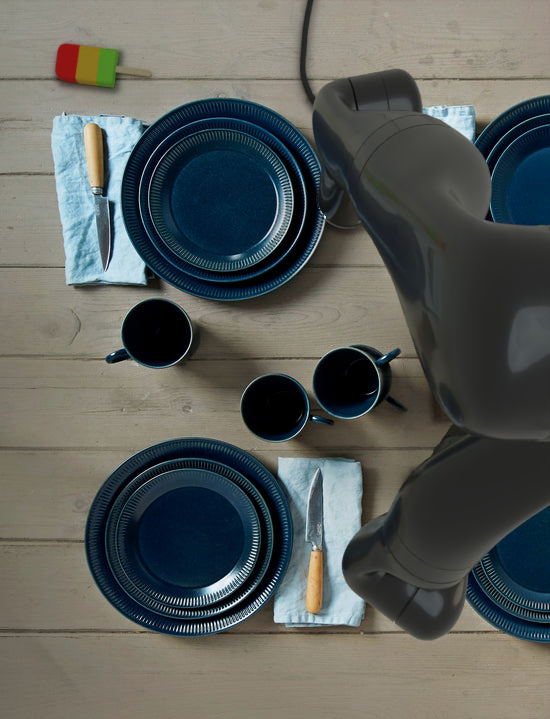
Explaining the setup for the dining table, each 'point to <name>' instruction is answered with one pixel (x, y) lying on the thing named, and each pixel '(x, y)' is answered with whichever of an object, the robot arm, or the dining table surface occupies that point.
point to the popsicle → (91, 65)
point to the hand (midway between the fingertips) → (511, 392)
